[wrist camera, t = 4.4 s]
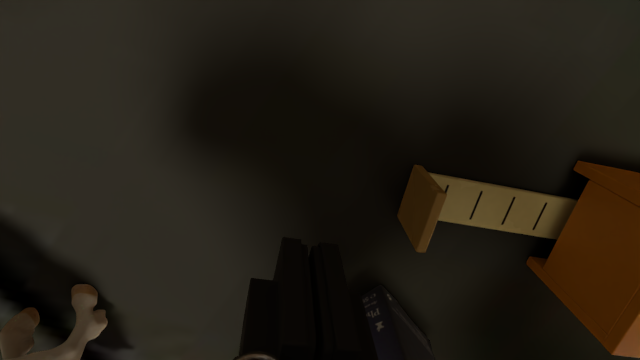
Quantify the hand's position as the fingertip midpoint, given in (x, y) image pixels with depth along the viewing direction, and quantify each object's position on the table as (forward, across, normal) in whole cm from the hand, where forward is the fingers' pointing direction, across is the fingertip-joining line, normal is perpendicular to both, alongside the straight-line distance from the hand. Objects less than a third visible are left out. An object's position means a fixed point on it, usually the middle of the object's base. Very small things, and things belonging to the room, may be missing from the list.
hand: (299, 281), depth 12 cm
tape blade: (+9, -12, 0) cm, 15 cm away
